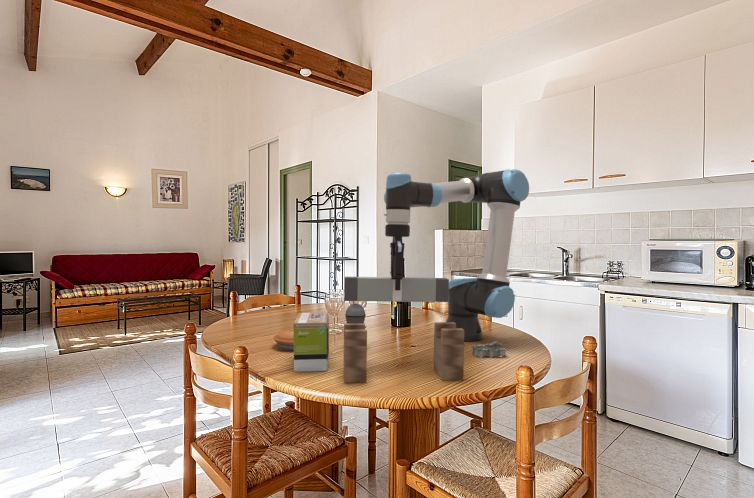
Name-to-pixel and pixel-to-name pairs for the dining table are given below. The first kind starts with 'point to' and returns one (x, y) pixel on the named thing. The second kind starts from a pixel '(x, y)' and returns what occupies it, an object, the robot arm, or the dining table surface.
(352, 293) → the bed rail
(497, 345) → the egg carton
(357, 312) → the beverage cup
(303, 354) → the tea box
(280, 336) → the pie
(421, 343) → the dining table surface
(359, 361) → the posts
